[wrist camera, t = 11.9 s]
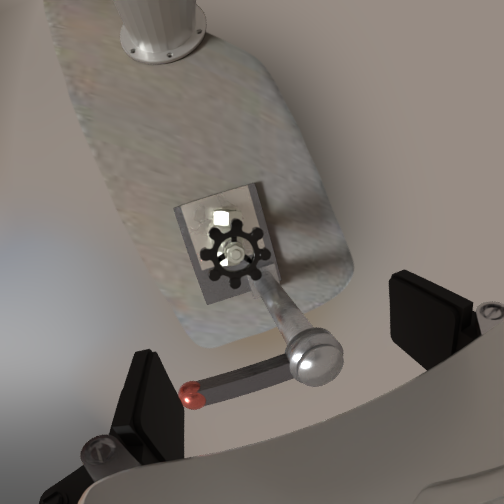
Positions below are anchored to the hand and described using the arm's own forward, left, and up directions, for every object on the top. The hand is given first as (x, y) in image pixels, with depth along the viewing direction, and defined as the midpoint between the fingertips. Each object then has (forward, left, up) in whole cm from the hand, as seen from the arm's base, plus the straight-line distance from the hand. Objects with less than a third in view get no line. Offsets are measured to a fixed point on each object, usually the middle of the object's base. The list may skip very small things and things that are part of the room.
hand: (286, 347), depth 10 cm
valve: (+1, 0, -29) cm, 29 cm away
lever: (+8, -1, -11) cm, 13 cm away
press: (+3, 0, -30) cm, 30 cm away
